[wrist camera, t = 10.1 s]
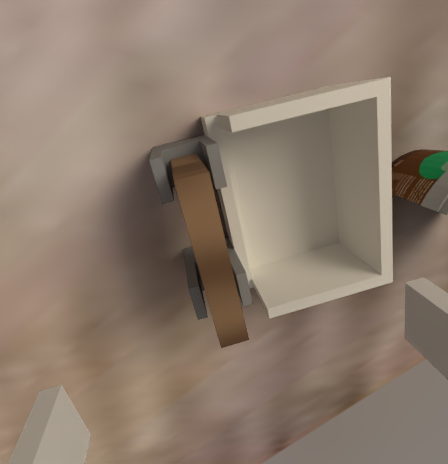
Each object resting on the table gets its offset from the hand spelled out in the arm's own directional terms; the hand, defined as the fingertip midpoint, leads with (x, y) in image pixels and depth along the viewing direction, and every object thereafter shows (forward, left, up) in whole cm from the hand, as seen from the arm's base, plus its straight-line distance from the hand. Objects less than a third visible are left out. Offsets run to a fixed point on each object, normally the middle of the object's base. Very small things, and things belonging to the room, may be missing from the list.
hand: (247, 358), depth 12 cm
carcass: (0, +6, -20) cm, 21 cm away
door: (+1, 0, -16) cm, 16 cm away
